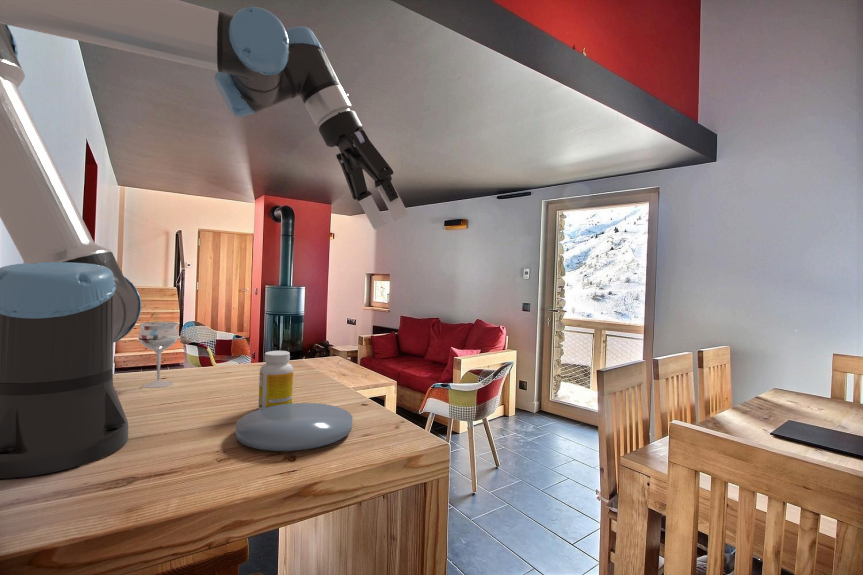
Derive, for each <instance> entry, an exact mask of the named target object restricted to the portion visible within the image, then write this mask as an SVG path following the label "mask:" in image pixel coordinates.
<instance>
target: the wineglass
mask: <svg viewBox="0 0 863 575" xmlns="http://www.w3.org/2000/svg"><path fill="white" fill-rule="evenodd" d="M179 324H180V323H179V322H173V321H172V322H171V321H155V322H152V321H151V322H142V323H139V324H138V326H139V327H140V329H139V331H138V340H139V342H140V344H142V345H143V347H145V348H146V349H150V350H151V351H153V352H154V353H156V375H157V376H156V377H157V378H156V380H154V381H150V382H147V383H145V384H143V385H142V386H143V387H144V388H149V389H151V388H152V389H155V388H164V387H169V386H172V385H173V384H174V382H172V381H168V380H162V379H160V378H161V377H160V376H161V365H162V364H161V362H162V361H161V359H162V353H163V352H164V351H165V350H167V349H169V348H170V347H172V346H173V345H174V344H175V343H176V342H177V341H178V339H179V336H180V335H179V334H180V333H179V329H178V326H179Z"/></svg>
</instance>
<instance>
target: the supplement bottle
mask: <svg viewBox="0 0 863 575" xmlns="http://www.w3.org/2000/svg"><path fill="white" fill-rule="evenodd" d="M290 355H291V354H290V352H289V351H287V350H272V351H271V350H270V351H266V352H265V353H264V362H265V364H262V366H261V367H260V368H259V382H258V383H259V384H258V410H259V409H263V408H266V407H271V406H277V405H283V404H293V389H294V388H293V387H294V367H293V364H291V363H290V359H291V356H290Z"/></svg>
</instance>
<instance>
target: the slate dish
mask: <svg viewBox="0 0 863 575" xmlns="http://www.w3.org/2000/svg"><path fill="white" fill-rule="evenodd" d="M352 428H353V415H352V414H351V413H350V412H349V411H348V410H346V409H344V408H342V407H339V406H335V405H331V404H327V403H326V404H324V403H318V402H317V403H315V402H299V403H298V402H296V403H293V402H292V404H283V405H277V406H271V407H266V408H263V409H259V408H258V409H257V410H254V411H250V412H248V413H246V414H245V415H243V416H242V417H241V418H239V419H238V420H237V422H236V424H235V437H236V440H238V442H240V443H241V444H242V445H244V446H247V447H250V448H254V449H256V450H257V449H258V450H263V451H273V452H275V451H276V452H278V451H279V452H288V451H290V452H291V451H292V452H293V451H302V450H303V451H304V450H308V449H309V450H310V449H313V448H319V447H323V446H327V445H330V444H332V443H335V442H337V441H340V440H342V439H343V438H345V437H346V436H347V435H349V434H350V432H351V431H352V430H353V429H352Z"/></svg>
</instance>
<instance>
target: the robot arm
mask: <svg viewBox="0 0 863 575" xmlns="http://www.w3.org/2000/svg"><path fill="white" fill-rule="evenodd" d="M9 26H11V27H16V28H21V29H25V30H29V31H34V32H38V33H43V34H47V35H51V36H55V37H60V38H66V39H71V40H75V41H78V42H83V43H89V44H92V45H98V46H102V47H105V48H111V49H116V50H120V51H124V52H129V53H134V54H138V55H142V56H146V57H151V58H156V59H161V60H164V61H170V62H175V63H178V64H179V63H180V64H185V65H189V66H193V67H198V68H202V69H207V70H212V71H216V73H215V75H214V81H215V84H216V87H217V89H218V92H219V93H220V95H221V97H222V100H223V102H224V103H225V105H226V106H227V108H228V110H229V111H230V112H231V114H233V115H234V116H235V117H237V118H243V117H247V116H250V115H251V116H252V115H253V114H254V115H257V114H258V113H259V112H262V111H264V110H268V109H269V108H272V107H274V106H276V105H279V104H281V103H284V102H286V101H287V102H288V101H289V100H293V99H295V98H297V97H300V99H301V100H302V102H303V104H304V106H305V108H306V111H307V112H308V113H309V116H310V118H311V119H312V122H313V124H314V125H315V126H317V127H318V132H319V134H320V136H321V138H322V139H323V141H324V143H325V145H326V146H327V147H328V148H334V147H337V148H338V150H339V153H337V154H335V156H336V159H337V161H338V163H339V164H340V168H341V170H342V173H343V175H344V177H345V181H346V183H347V186H348V188H349V190H350V193H351V196H352V198H353V200H355V201H357V202H359V204H360V206H361V207H362V210H363V211H364V214H365V215H366V218H367V219H368V221H369V223H370V224H371V227H372V228H373V231H374V230H376V229H379V228H380V227H382V226H384V225H386V224H387V223H386V221H385V219H384V217H383V215H382V213H381V211H380V209H379V207H378V206H377V203H376V202H375V200H374V198H373V196H372V192H370V191H369V190H368V186H367V183H366V180H365V179H366V178H365V174H364V172H365V173H366V174H367V175H368V176H369V177H370V178H371V179H372V180H373V182H374V187H375V188H377V190H378V192H379V194H380V196H381V198H382V200H383V202H384V203H385V205H386V208H387V209H388V212H389V213H390V215H391V217H392V219H393V220H394V222H396V221H398V220H400V219H402V218H404V217H405V216H407V215H409V212H408V210H407V208H406V207H405V205H404V203H403V200H402V198H401V197H400V195H399V193H398V190H397V189H396V187H395V185H394V183H393V181H392V180H393V178H392V175H394V170H393V168H392V167H391V166H390V164H388V162H387V160H385V159H384V157H383V156H382V154H381V153H380V152H379V151H378V149H377V148H376V147H375V146H374V144H373V143H372V142H371V140H370V139H369V136H368V135H367V134H366V132H365V130H364V129H363V124H362V123H361V121H360V119H359V117H358V115H357V112H356V111H355V110H352V107H353V105H352V104H351V102H350V100H349V99H350V96H349V93H348V92H345V91H344V90H345V89H344V88H343V86H342V84H341V82H340V81H339V79H338V76H337V75H336V72H335V71H334V69H333V66H332V65H331V62H330V60H329V58H328V56H327V54H326V51H325V49H324V48H323V46H322V45H321V43H320V41H319V40H318V38H317V36H316V35H315V33H314V31H313V30H312V29H311V28H309V27H308V26H303V25H297V26H293V27H289V28H287V30H286V28H285V26H284V23H282V21H281V20H280V19H279V18H278V17H277V16H276V15H275V14H273V13H272V12H271V11H269V10H267V9H266V8H262V7H259V6H248V7H243V8H241V9H239V10H238V11H237V12H235V14H231V13H226V12H222V11H219V10H215V9H211V8H207V7H204V6H200V5H198V4H197V5H196V4H193V3H189V2H187V1H182V0H0V220H1V222H2V224H3V225H4V227H5V229H6V230H7V233H8V234H9V236H10V238H11V240H12V243H13V244H14V245H15V248H16V249H17V251H18V253H19V255H20V257H21V259H22V260H23V263H16V264H9V265H6V266H2V267H0V479H15V478H16V477H17V478H26V477H27V478H28V477H34V476H39V475H41V476H42V475H44V474H50V473H55V472H59V471H64V470H69V469H72V468H75V467H76V468H77V467H79V466H82V465H83V466H84V465H86V464H89V463H91V462H94V461H97V460H100V459H102V458H104V457H107V456H109V455H111V454H113V453H115V452H117V451H118V450H120V449H121V448H122V447H124V446H125V445H126V443H127V442H128V440H129V421H128V418H127V416H126V414H125V411H124V409H123V406H122V404H121V401H120V399H119V396H118V393H117V391H116V388H115V386H114V379H113V378H114V343H117V342H118V341H120V340H122V339H123V338H124V337H125V336H127V335H128V334H129V333H130V332H131V331H132V330H133V329H134V327H135V326H136V324H137V323H138V321H139V318H140V316H141V313H142V298H141V295H140V293H139V291H138V289H137V287H136V286H135V285H134V283H133V282H131V281H130V279H129V278H127V277H125V276H124V274H123V272H122V269H121V268H120V265H119V263H118V262H117V260H116V258H115V255H114V253H113V252H112V251H111V249H109V248H106V247H103V246H100V245H98V244H97V243H95V241H94V239H93V238H92V235H91V233H90V231H89V229H88V227H87V225H86V223H85V221H84V219H83V218H82V215H81V213H80V211H79V208H78V207H77V205H76V202H75V201H74V199H73V197H72V195H71V193H70V191H69V189H68V187H67V185H66V182H65V181H64V178H63V177H62V174H61V173H60V171H59V169H58V166H57V164H56V163H55V161H54V158H53V157H52V155H51V153H50V151H49V148H48V146H47V144H46V143H45V140H44V138H43V137H42V135H41V132H40V131H39V128H38V126H37V124H36V122H35V121H34V119H33V117H32V114H31V112H30V110H29V109H28V106H27V104H26V102H25V100H24V98H23V96H22V95H21V94H22V93H21V92H20V90H19V87H20V85H21V84H22V83H23V82H24V80H25V77H26V76H25V73H24V70H23V68H22V66H21V64H20V62H19V60H18V58H19V50H18V45H17V40H16V39H15V36H14V34H13V32H12V30H11V28H10V27H9ZM13 477H14V478H13ZM17 478H16V479H17Z"/></svg>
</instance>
